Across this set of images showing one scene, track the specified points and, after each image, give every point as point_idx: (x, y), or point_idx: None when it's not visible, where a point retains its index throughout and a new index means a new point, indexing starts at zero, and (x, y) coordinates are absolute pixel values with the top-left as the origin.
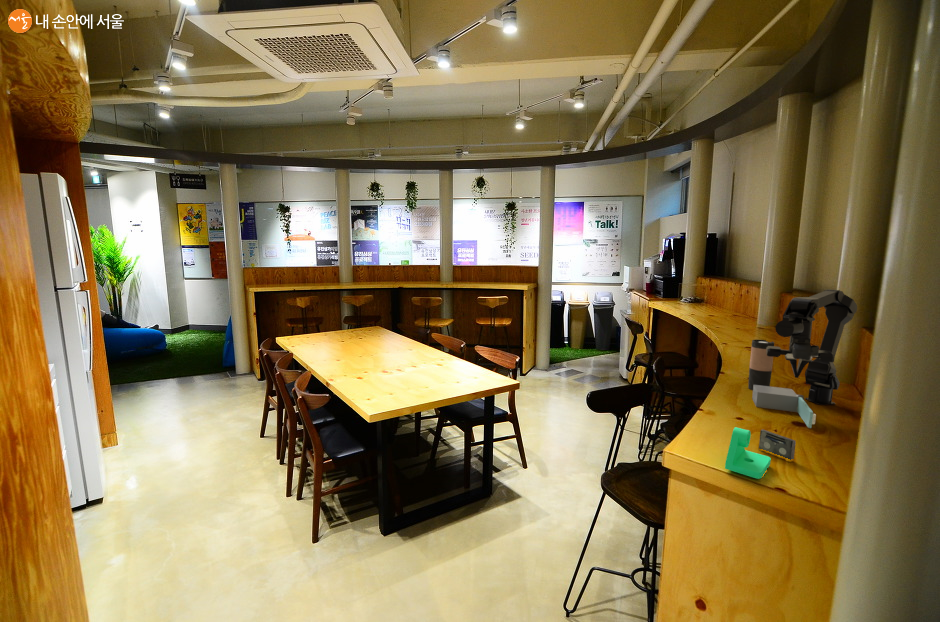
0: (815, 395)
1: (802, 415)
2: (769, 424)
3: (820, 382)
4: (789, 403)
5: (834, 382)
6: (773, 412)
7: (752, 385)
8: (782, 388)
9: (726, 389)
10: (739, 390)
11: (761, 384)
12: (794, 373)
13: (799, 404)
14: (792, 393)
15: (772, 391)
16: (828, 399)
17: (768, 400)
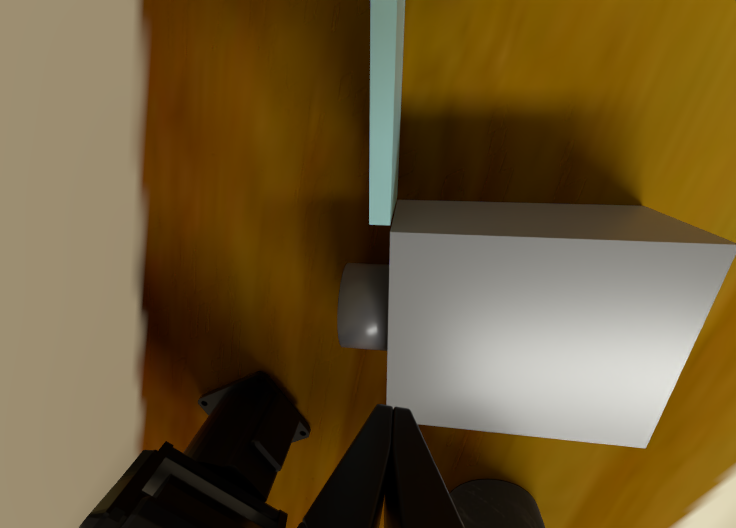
0: (263, 419)
1: (403, 9)
2: None
3: (201, 493)
4: (446, 214)
5: (117, 492)
6: (560, 119)
7: (538, 520)
8: (448, 415)
9: (682, 476)
10: (605, 476)
11: (502, 522)
12: (428, 457)
13: (395, 156)
14: (411, 318)
15: (564, 316)
16: (215, 408)
17: (594, 221)
